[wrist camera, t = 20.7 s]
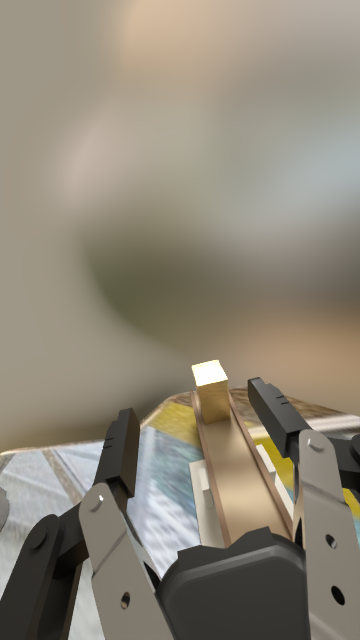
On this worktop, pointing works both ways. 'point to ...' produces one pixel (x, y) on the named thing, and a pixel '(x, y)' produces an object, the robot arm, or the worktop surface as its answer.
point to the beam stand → (206, 503)
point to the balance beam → (239, 479)
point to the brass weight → (212, 392)
